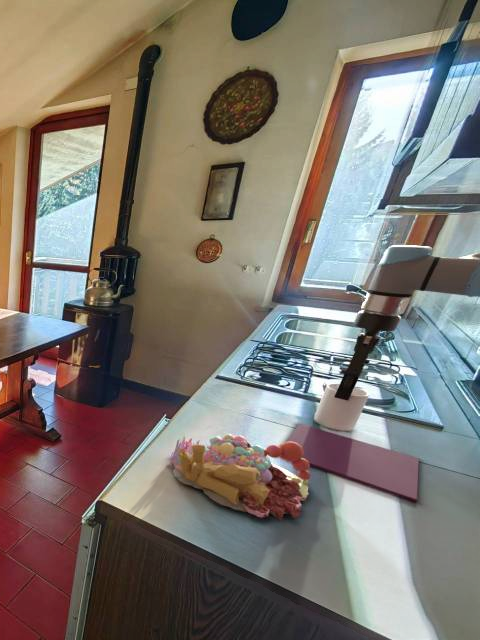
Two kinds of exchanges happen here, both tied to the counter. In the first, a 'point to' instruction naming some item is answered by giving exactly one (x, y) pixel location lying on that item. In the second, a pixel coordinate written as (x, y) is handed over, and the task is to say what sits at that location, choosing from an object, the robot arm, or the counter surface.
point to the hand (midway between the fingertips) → (344, 391)
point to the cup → (340, 408)
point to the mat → (359, 461)
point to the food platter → (244, 474)
